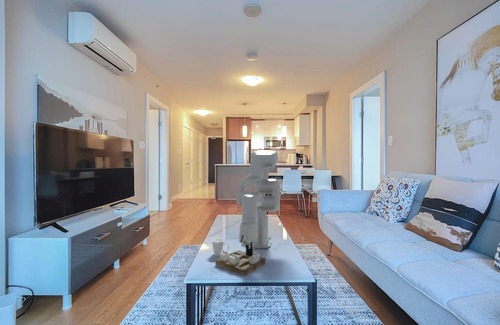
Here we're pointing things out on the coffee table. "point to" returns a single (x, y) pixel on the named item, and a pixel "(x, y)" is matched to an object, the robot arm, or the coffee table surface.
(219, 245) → the cup
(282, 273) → the coffee table surface
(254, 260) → the tab
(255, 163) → the robot arm
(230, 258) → the tab middle
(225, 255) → the tab
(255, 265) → the switch board
